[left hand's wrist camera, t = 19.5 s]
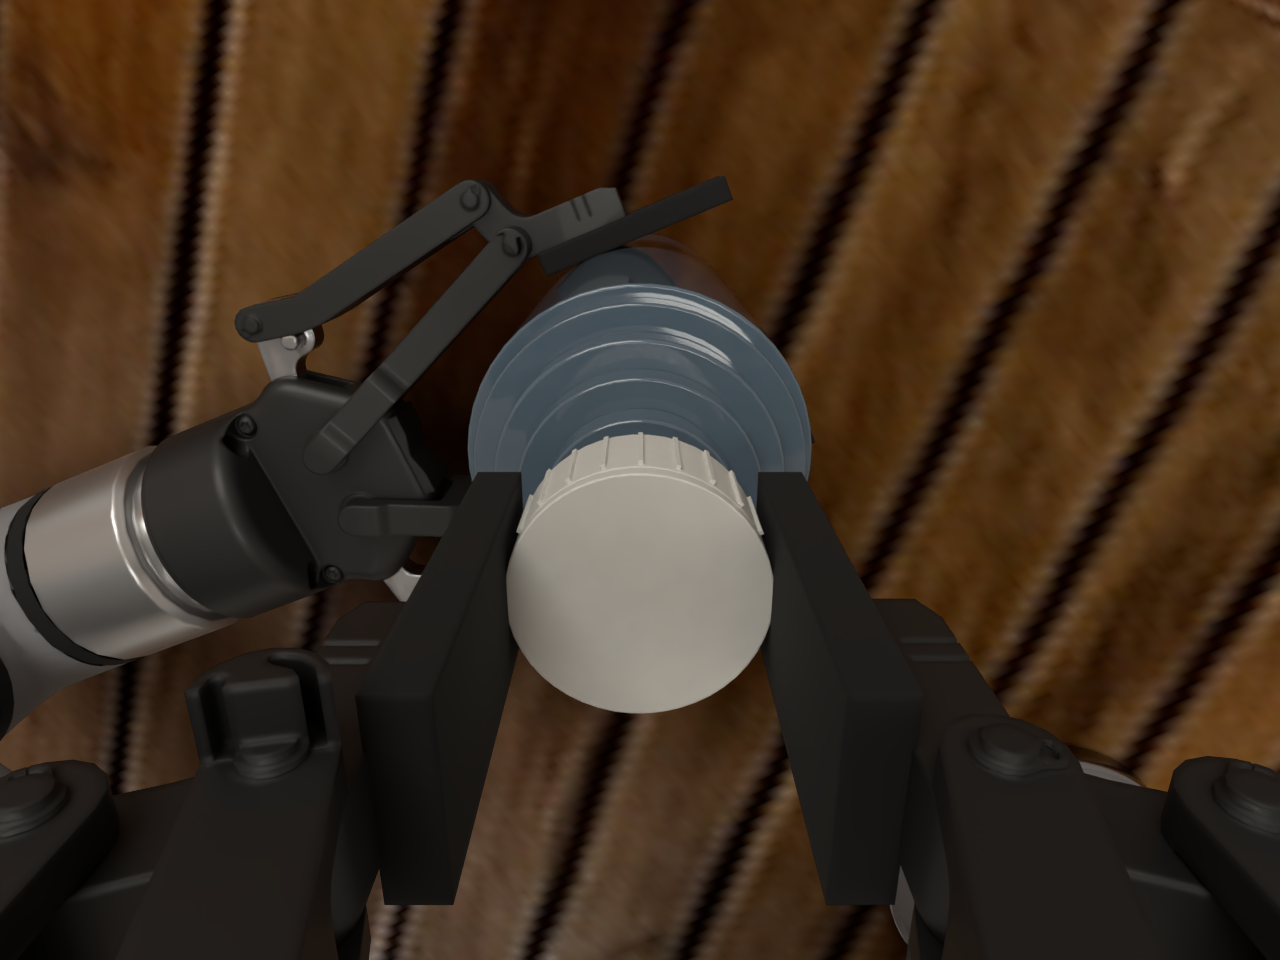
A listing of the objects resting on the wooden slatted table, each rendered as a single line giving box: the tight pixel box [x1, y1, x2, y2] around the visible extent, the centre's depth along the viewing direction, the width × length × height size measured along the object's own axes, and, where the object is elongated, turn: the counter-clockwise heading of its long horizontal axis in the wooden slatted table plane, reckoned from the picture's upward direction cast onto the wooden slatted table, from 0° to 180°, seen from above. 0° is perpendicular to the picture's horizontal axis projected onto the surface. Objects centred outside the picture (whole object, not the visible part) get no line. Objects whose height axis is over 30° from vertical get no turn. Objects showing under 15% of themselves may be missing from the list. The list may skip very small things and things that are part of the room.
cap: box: [506, 432, 773, 713], centre depth 14 cm, size 4×4×2 cm
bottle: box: [468, 234, 812, 511], centre depth 24 cm, size 8×8×23 cm
